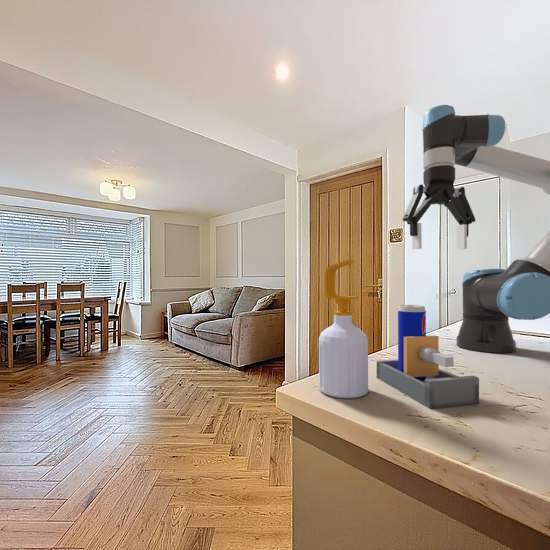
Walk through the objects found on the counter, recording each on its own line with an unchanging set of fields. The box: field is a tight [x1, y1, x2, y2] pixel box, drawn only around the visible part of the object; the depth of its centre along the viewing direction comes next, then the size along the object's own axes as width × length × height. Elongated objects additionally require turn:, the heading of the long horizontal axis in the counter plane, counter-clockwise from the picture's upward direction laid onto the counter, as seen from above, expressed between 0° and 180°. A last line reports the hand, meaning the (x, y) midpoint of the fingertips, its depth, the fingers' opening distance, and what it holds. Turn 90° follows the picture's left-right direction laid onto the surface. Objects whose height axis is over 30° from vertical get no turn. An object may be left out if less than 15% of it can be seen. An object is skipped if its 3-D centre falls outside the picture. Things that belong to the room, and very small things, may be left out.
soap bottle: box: [318, 259, 369, 399], centre depth 63 cm, size 9×9×25 cm
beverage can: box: [397, 304, 427, 382], centre depth 67 cm, size 5×5×15 cm
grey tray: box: [376, 358, 480, 409], centre depth 64 cm, size 10×17×4 cm, turn 12°
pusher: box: [404, 335, 454, 377], centre depth 60 cm, size 7×8×8 cm
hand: (439, 249), depth 88 cm, fingers open, 13 cm apart
